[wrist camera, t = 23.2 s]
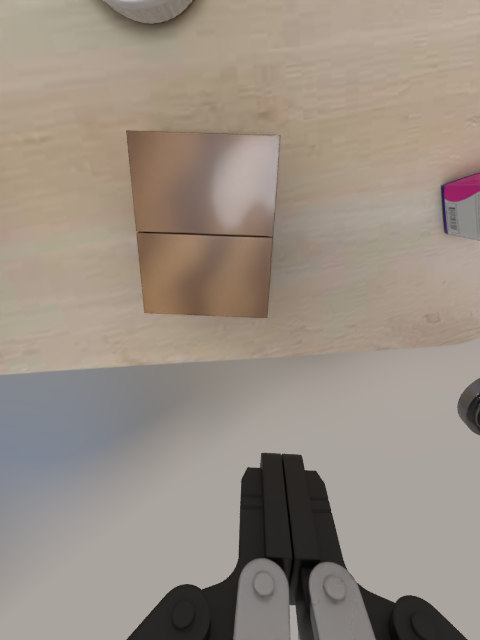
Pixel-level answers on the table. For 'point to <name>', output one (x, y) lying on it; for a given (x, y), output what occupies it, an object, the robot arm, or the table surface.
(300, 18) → the table surface
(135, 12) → the ramekin
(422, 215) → the table surface
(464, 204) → the supplement box
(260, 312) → the flap
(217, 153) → the carton
